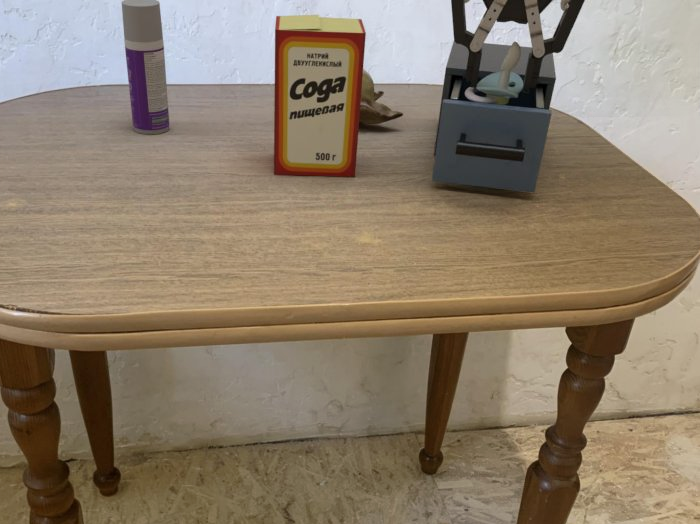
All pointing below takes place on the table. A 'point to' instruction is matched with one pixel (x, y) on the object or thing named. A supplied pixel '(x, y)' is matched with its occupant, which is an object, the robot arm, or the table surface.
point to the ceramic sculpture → (373, 104)
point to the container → (146, 65)
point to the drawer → (491, 140)
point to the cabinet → (495, 69)
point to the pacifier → (500, 81)
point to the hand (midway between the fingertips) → (499, 87)
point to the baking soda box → (317, 94)
